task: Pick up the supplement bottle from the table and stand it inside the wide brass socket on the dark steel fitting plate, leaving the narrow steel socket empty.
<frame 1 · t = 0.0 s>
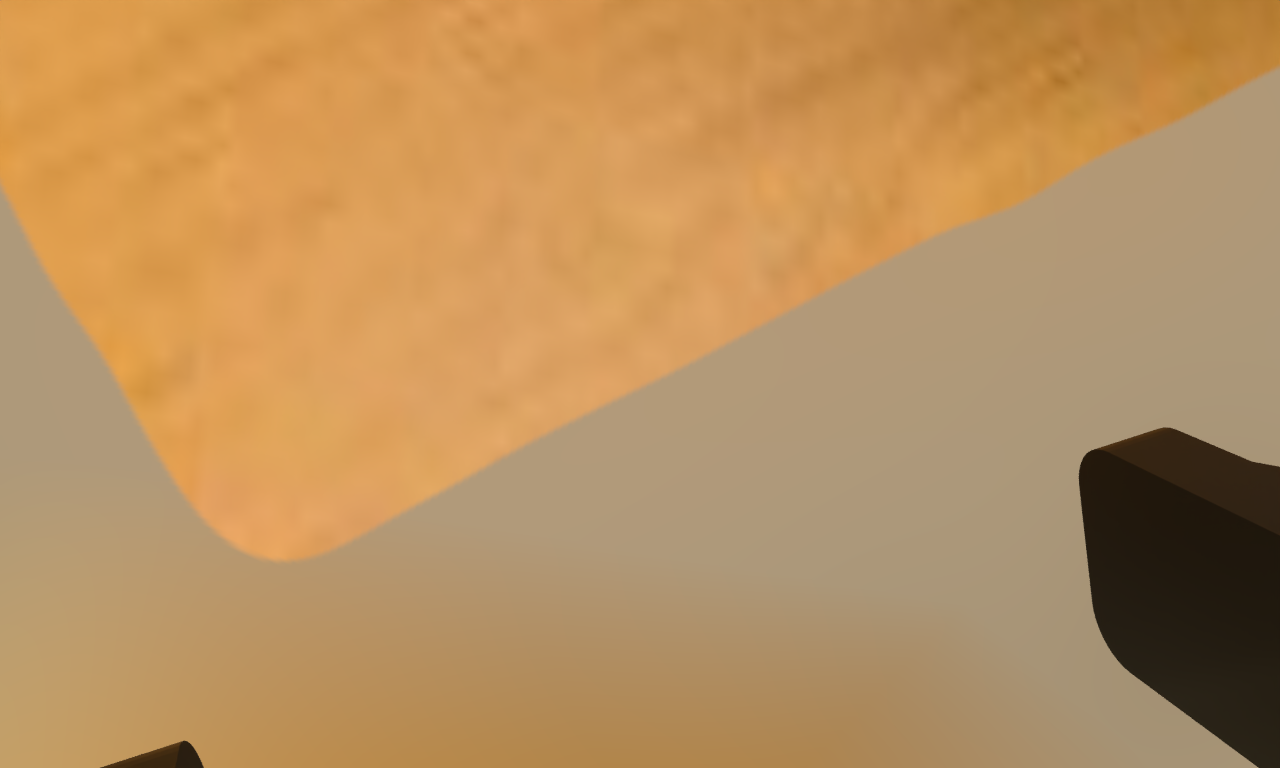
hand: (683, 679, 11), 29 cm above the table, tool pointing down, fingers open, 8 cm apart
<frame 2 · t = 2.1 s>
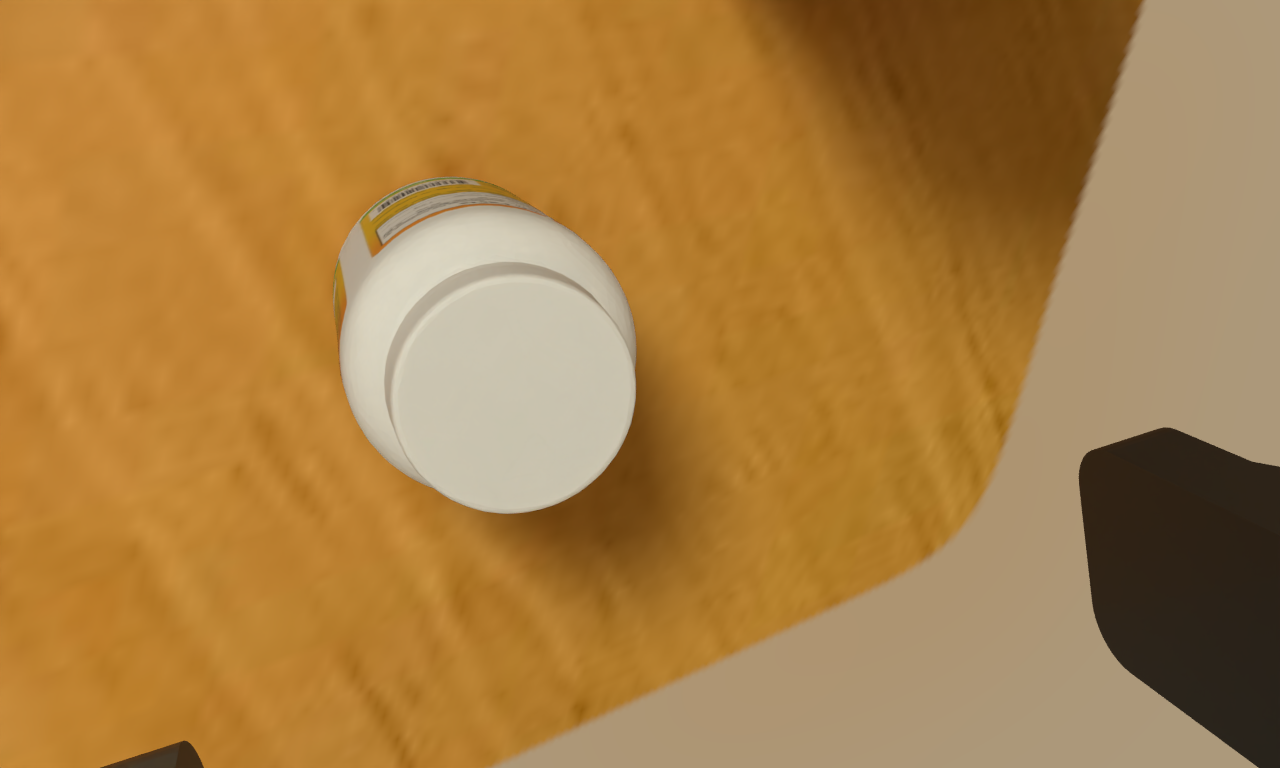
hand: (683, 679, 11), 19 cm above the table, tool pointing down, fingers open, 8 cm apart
supplement bottle: (450, 289, 29), on the table
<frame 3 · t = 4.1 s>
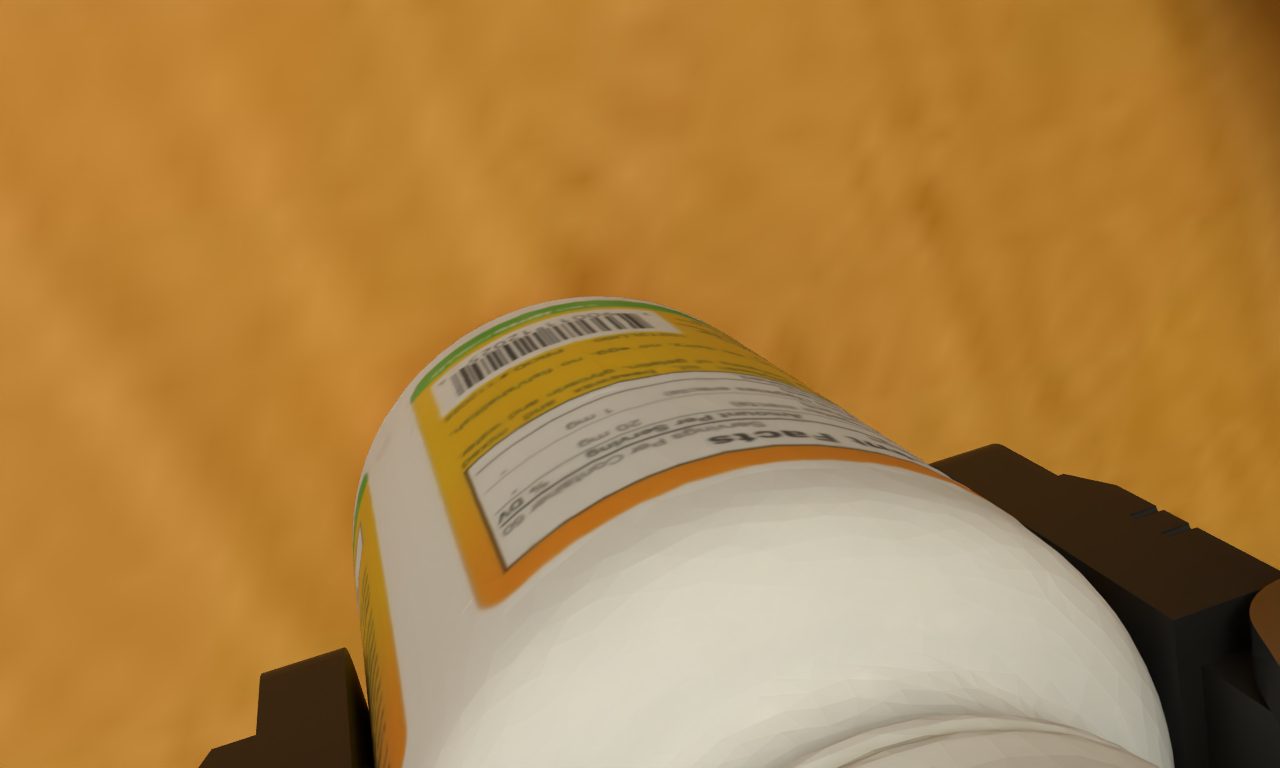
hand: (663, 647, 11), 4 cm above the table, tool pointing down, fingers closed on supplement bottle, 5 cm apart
supplement bottle: (580, 507, 15), on the table, touching gripper
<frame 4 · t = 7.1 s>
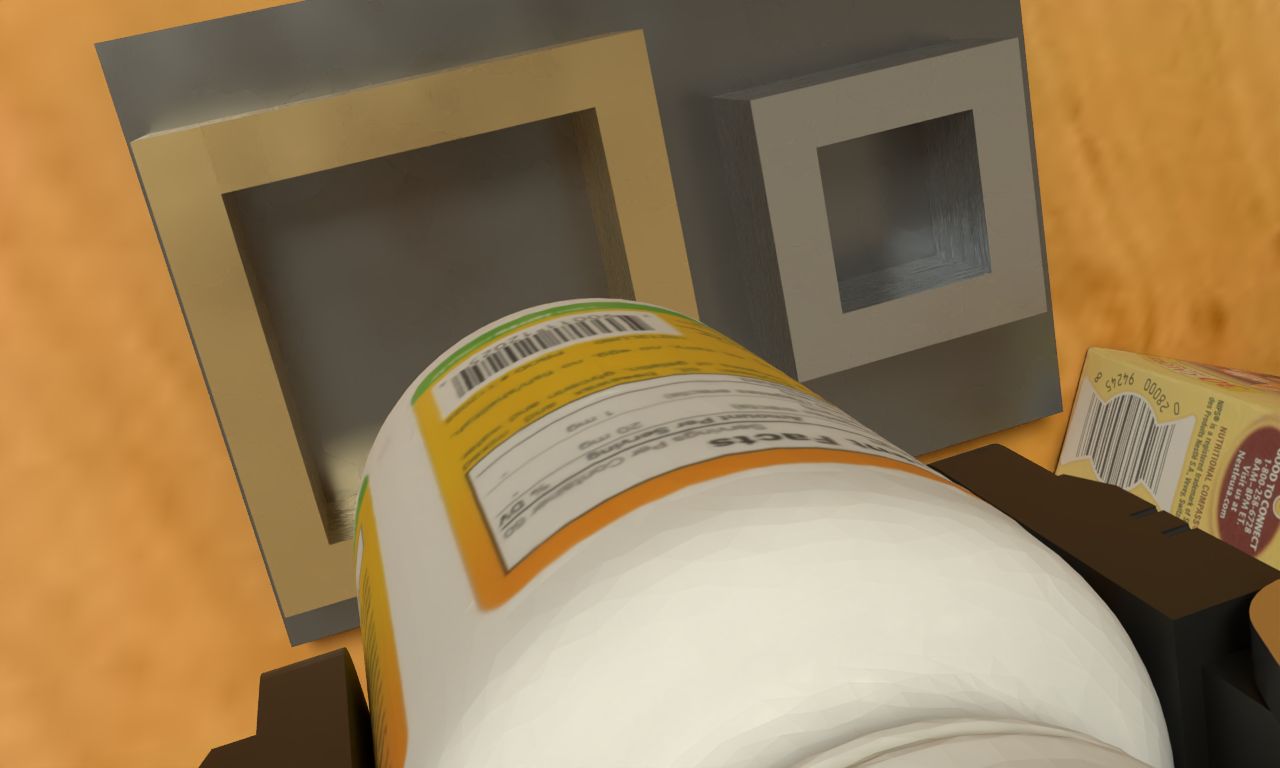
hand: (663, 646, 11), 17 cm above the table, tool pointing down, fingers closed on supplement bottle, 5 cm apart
supplement bottle: (580, 508, 15), point 14 cm above the table, touching gripper
fitting plate: (629, 244, 28), on the table
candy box: (1194, 428, 34), on the table
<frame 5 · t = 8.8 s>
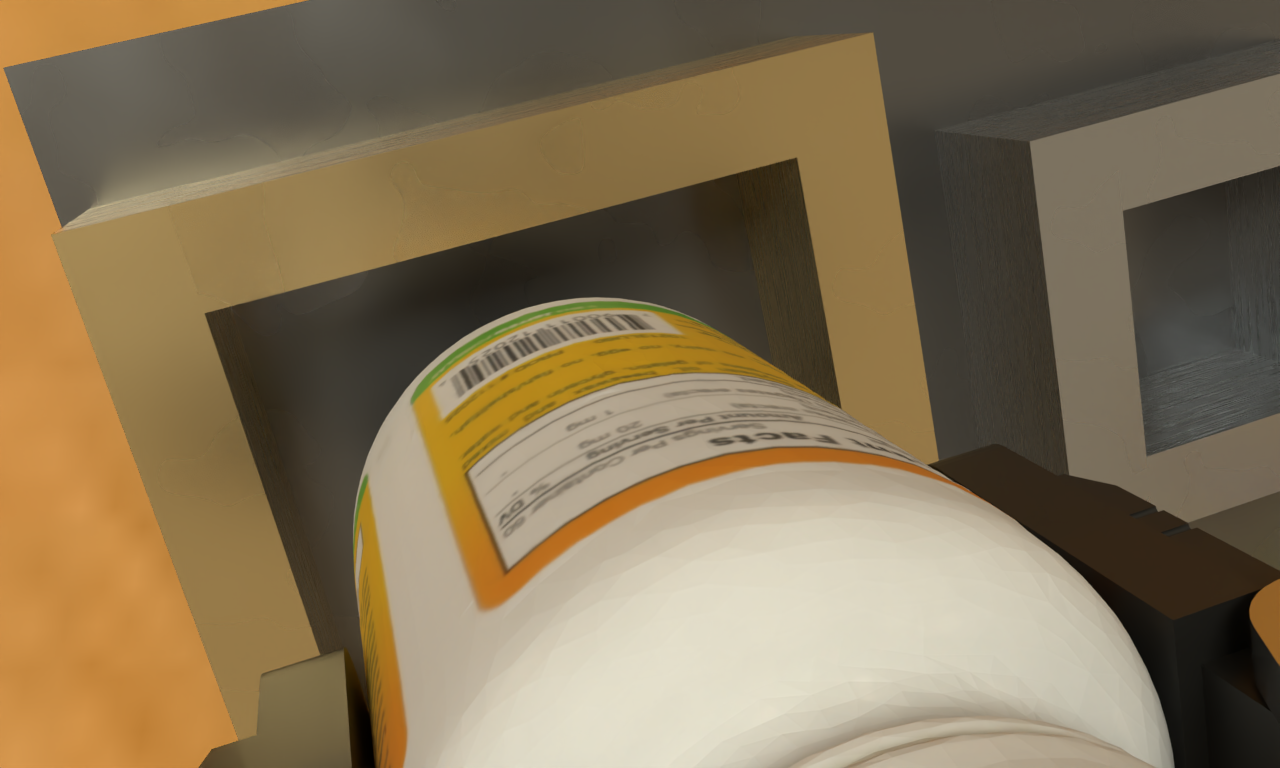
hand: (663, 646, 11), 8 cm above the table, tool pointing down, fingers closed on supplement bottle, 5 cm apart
supplement bottle: (580, 508, 15), point 4 cm above the table, touching gripper
fitting plate: (800, 339, 20), on the table
when the fingers open (6 cm above the table, at t = 10.2 s): supplement bottle stays where it is, resting on fitting plate.
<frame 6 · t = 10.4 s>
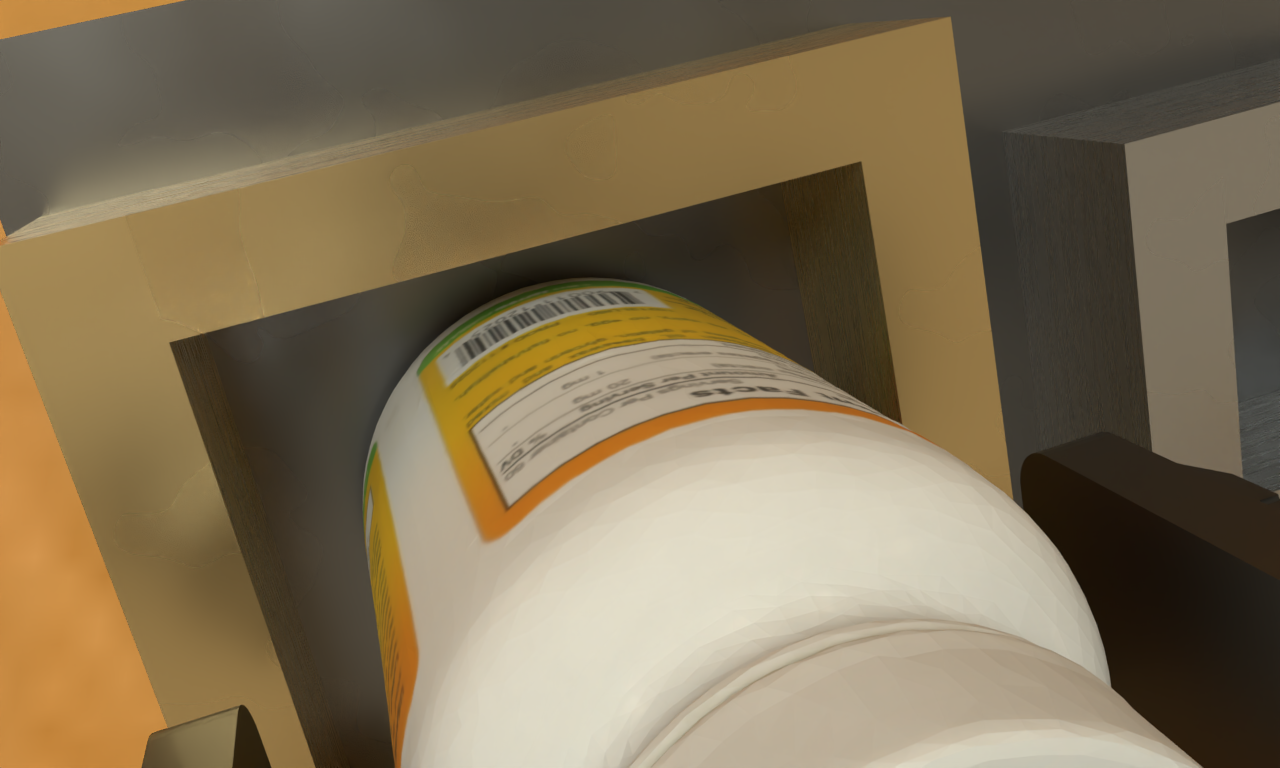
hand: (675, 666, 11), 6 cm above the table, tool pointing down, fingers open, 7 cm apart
supplement bottle: (576, 478, 16), point 1 cm above the table, touching fitting plate
fitting plate: (843, 363, 18), on the table
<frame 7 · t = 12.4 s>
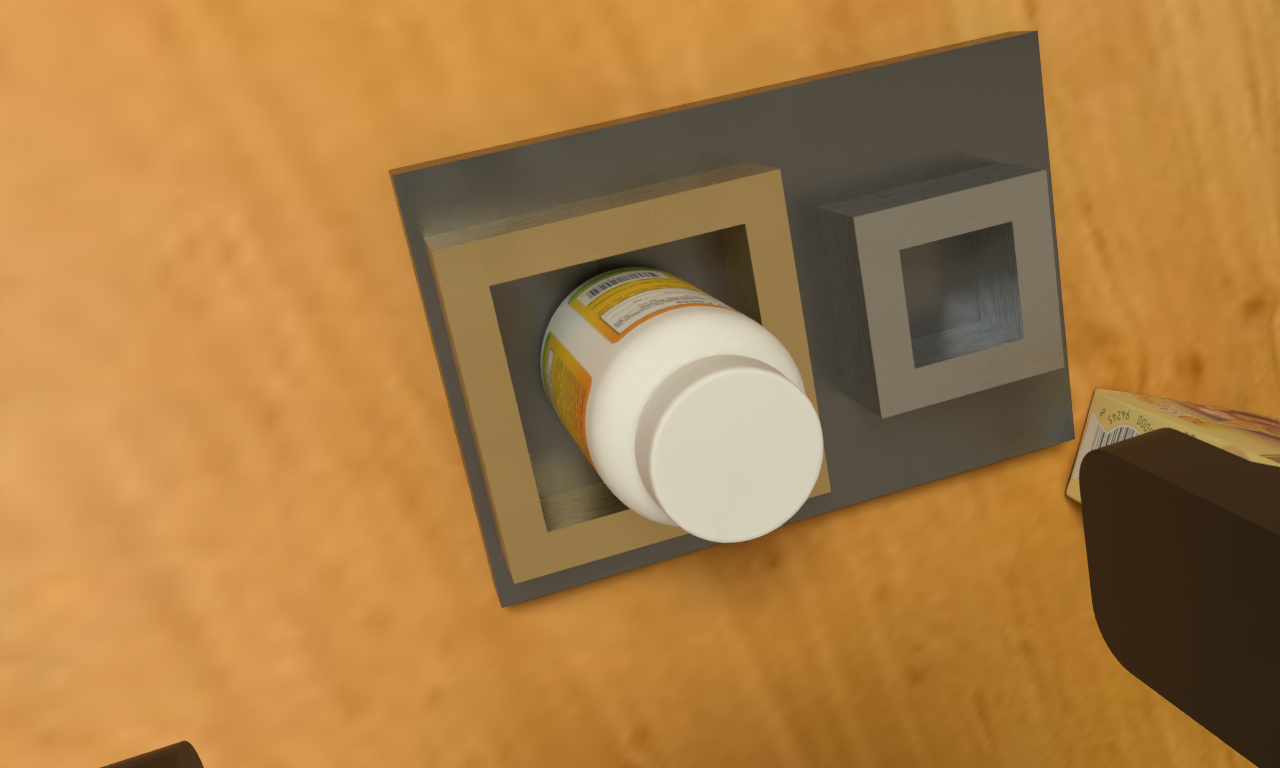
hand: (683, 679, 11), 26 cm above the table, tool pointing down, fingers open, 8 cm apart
supplement bottle: (627, 354, 36), point 1 cm above the table, touching fitting plate
fitting plate: (751, 310, 38), on the table
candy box: (1178, 452, 43), on the table
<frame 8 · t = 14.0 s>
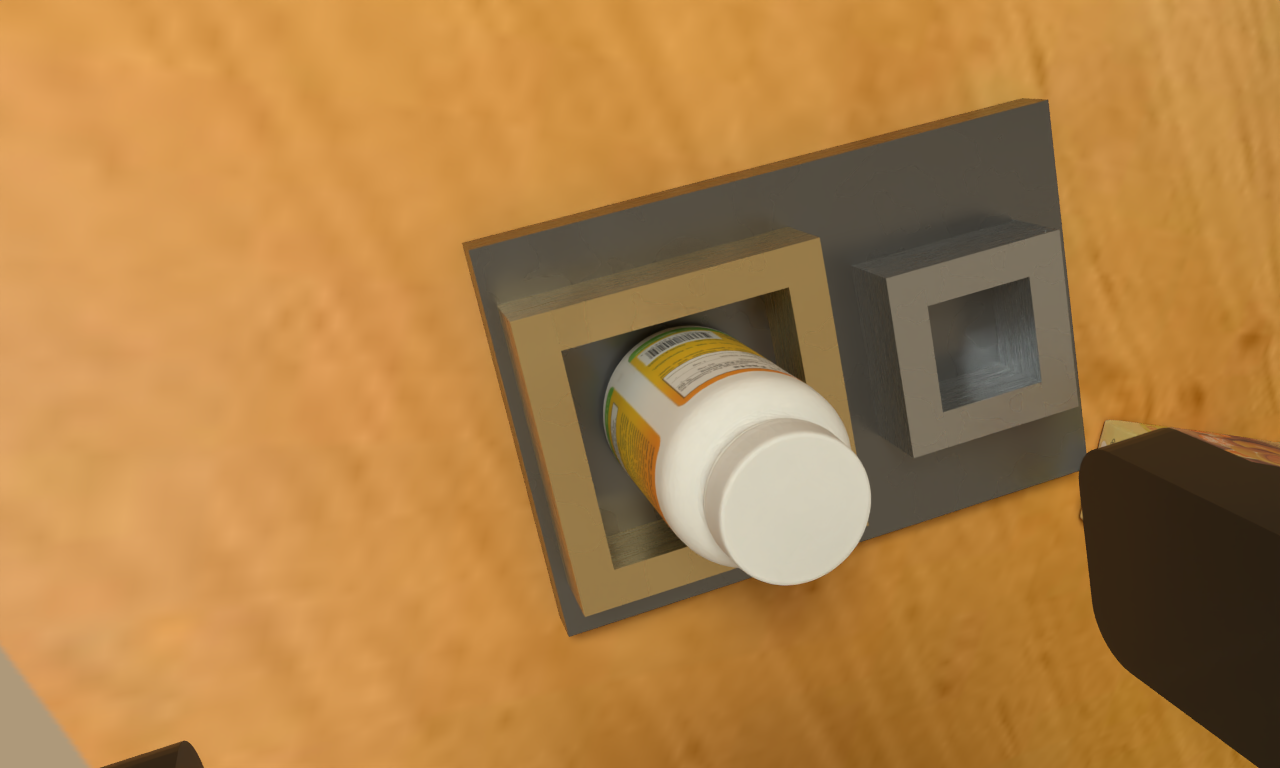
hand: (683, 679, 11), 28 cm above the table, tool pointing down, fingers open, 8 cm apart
supplement bottle: (680, 404, 39), point 1 cm above the table, touching fitting plate
fitting plate: (790, 358, 41), on the table
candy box: (1182, 475, 47), on the table
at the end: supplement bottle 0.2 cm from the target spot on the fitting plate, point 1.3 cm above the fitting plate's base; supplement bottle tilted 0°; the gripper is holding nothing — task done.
